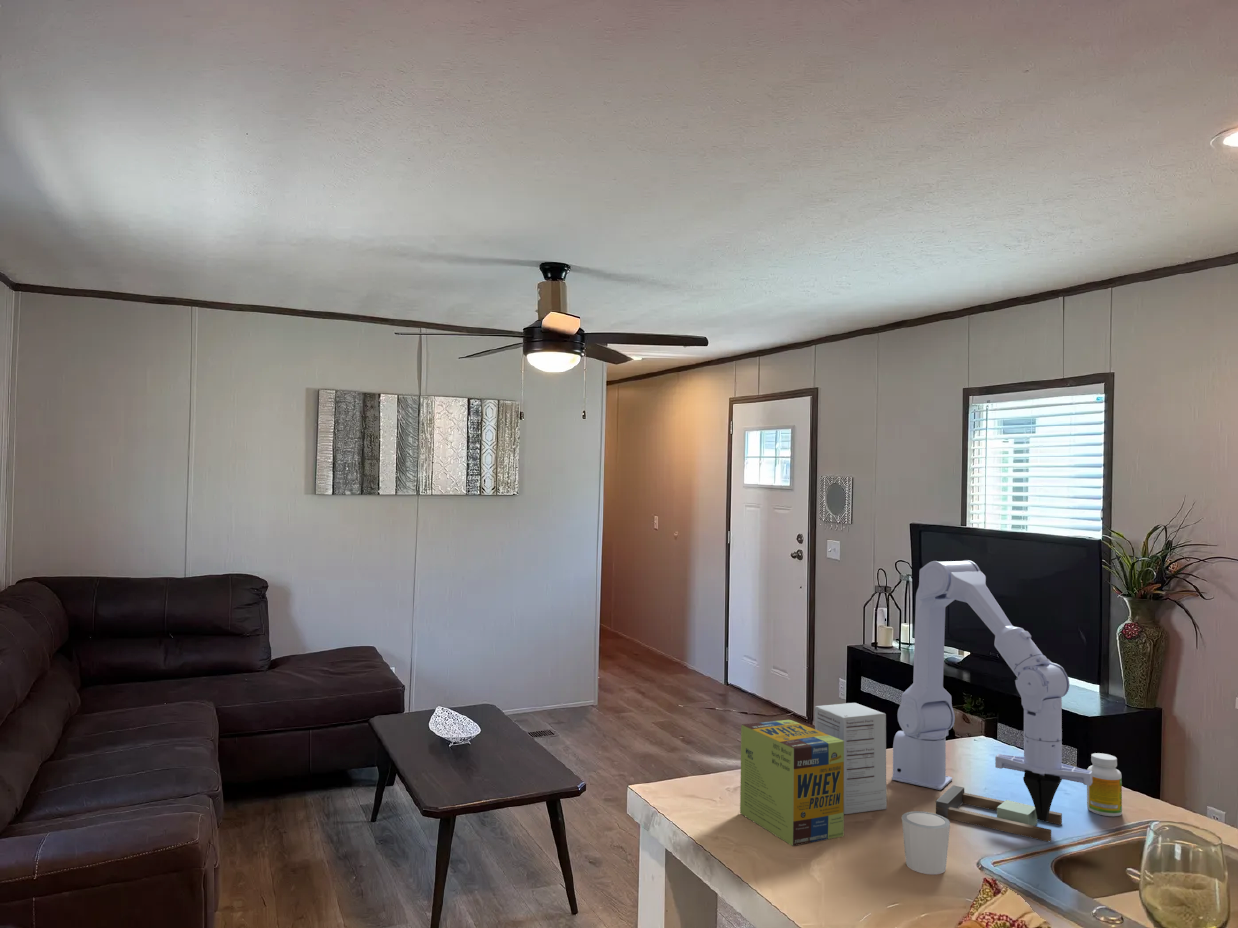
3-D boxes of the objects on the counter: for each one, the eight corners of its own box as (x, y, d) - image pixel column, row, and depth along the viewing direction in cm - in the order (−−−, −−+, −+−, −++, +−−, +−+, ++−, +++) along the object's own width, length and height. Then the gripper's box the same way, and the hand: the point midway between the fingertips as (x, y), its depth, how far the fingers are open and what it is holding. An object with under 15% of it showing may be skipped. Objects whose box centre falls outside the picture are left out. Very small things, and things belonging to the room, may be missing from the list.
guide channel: (935, 815, 148) (935, 800, 148) (953, 798, 156) (953, 785, 156) (1049, 841, 137) (1049, 826, 137) (1061, 822, 145) (1061, 807, 146)
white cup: (894, 856, 131) (894, 810, 131) (937, 855, 131) (937, 809, 132) (913, 876, 124) (913, 828, 124) (958, 875, 124) (958, 827, 125)
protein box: (793, 847, 134) (793, 747, 134) (738, 813, 148) (739, 723, 148) (845, 836, 138) (846, 740, 139) (788, 805, 152) (788, 717, 153)
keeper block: (996, 824, 145) (996, 807, 145) (1006, 817, 148) (1006, 799, 149) (1028, 833, 141) (1028, 814, 142) (1037, 824, 145) (1037, 806, 145)
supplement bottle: (1127, 818, 148) (1126, 761, 148) (1093, 815, 149) (1092, 759, 149) (1115, 807, 153) (1115, 752, 154) (1082, 804, 154) (1082, 750, 155)
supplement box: (888, 809, 150) (888, 713, 151) (844, 815, 147) (844, 717, 148) (855, 791, 159) (855, 701, 160) (813, 797, 156) (813, 704, 157)
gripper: (990, 734, 144) (990, 815, 144) (1087, 750, 136) (1087, 837, 135) (1000, 725, 150) (1001, 803, 149) (1094, 740, 141) (1094, 823, 141)
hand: (1042, 818), depth 143 cm, fingers closed
